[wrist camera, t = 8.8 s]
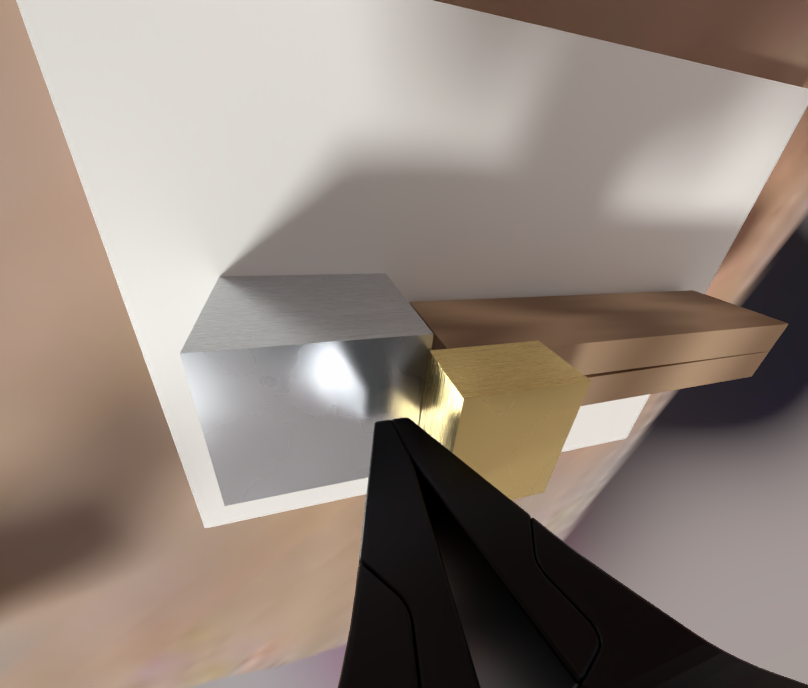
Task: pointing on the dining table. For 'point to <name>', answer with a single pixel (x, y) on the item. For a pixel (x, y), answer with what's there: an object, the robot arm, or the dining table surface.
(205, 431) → the hinge block
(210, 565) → the dining table surface
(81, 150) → the board
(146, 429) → the dining table surface
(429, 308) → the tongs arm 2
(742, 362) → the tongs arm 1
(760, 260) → the dining table surface
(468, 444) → the block
